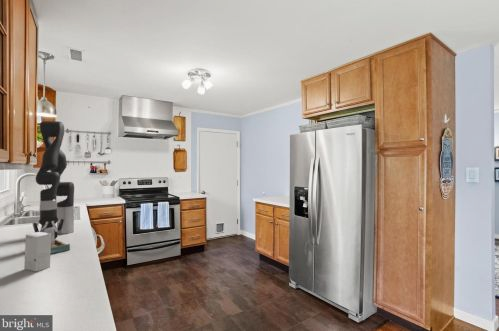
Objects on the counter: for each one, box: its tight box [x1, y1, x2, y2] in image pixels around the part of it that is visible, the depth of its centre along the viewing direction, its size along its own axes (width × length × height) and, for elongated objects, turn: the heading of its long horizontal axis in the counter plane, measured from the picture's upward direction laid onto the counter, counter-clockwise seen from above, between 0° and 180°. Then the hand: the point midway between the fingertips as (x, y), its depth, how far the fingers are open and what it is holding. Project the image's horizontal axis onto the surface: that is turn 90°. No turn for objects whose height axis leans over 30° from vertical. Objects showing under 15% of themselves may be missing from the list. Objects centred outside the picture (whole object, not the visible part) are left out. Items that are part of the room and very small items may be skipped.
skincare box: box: [23, 232, 51, 272], centre depth 114 cm, size 8×6×15 cm
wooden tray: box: [50, 238, 71, 255], centre depth 142 cm, size 24×9×3 cm, turn 53°
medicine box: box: [44, 227, 54, 244], centre depth 144 cm, size 8×4×9 cm, turn 41°
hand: (48, 239), depth 144 cm, fingers closed on medicine box, 5 cm apart
